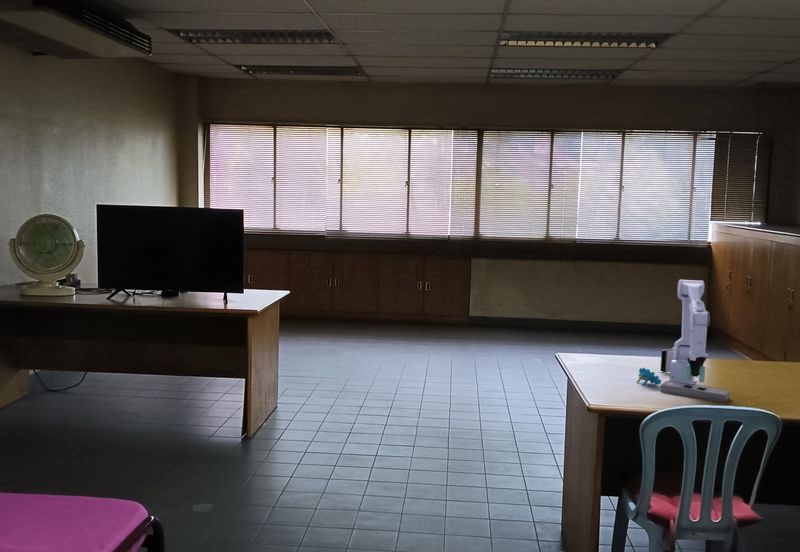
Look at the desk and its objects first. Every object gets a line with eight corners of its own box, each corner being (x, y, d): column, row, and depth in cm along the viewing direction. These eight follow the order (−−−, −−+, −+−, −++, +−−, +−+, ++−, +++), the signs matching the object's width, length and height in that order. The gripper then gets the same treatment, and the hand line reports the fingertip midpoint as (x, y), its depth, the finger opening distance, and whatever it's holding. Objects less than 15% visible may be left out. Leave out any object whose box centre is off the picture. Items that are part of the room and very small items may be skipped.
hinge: (671, 368, 322) (673, 346, 321) (682, 370, 318) (684, 348, 317) (658, 372, 312) (660, 350, 311) (670, 374, 308) (671, 352, 307)
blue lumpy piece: (666, 383, 283) (652, 367, 281) (658, 394, 282) (643, 378, 280) (648, 380, 294) (634, 365, 292) (641, 391, 292) (626, 375, 290)
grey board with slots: (660, 391, 277) (661, 384, 276) (666, 387, 283) (666, 380, 283) (724, 402, 262) (725, 395, 262) (729, 398, 269) (729, 391, 269)
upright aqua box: (685, 380, 273) (686, 365, 272) (687, 378, 275) (688, 364, 275) (702, 382, 269) (703, 367, 269) (704, 381, 271) (705, 366, 271)
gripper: (704, 345, 262) (702, 380, 264) (713, 340, 274) (710, 374, 275) (685, 343, 267) (682, 377, 268) (694, 338, 278) (692, 371, 280)
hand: (695, 375), depth 272 cm, fingers closed on upright aqua box, 3 cm apart
